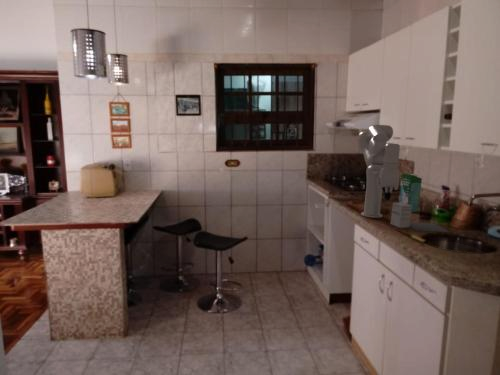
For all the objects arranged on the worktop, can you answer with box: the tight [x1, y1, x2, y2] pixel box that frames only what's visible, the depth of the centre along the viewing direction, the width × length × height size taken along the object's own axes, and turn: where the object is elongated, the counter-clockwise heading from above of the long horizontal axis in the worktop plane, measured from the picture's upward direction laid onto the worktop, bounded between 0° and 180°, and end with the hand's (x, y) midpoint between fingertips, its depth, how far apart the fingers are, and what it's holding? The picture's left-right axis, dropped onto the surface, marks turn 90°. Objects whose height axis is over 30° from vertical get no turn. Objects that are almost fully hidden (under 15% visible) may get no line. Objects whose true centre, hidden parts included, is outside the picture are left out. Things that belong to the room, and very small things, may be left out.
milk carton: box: [398, 172, 423, 213], centre depth 246 cm, size 9×9×25 cm
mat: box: [408, 221, 450, 234], centre depth 202 cm, size 18×18×1 cm
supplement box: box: [390, 202, 412, 228], centre depth 202 cm, size 7×7×13 cm
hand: (386, 199), depth 200 cm, fingers closed
